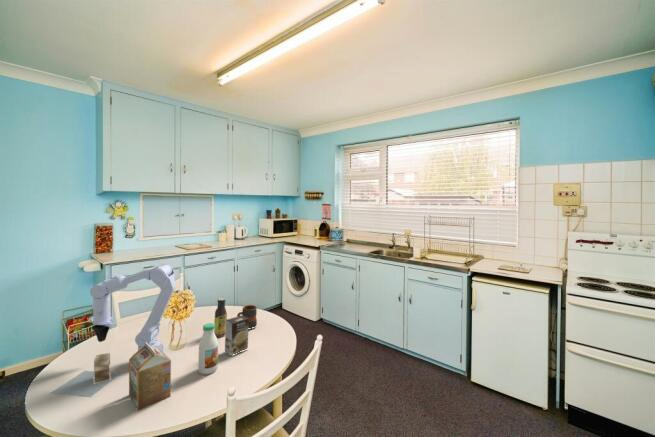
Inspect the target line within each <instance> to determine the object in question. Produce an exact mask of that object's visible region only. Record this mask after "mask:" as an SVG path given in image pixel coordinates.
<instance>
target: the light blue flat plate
mask: <svg viewBox="0 0 655 437" xmlns="http://www.w3.org/2000/svg"><path fill="white" fill-rule="evenodd" d="M120 375H121V373H115V372H109V379H108V380H104V381H101V382H97V383H95V372H94V370H84V371H82V372H80V373H79V374H77V375H76V376H75V377H73V378H71V379H70V380H68V381H67V382H65V383H63V384H62V385H60V386H59V387H57V388H55V389H54V390H52V391H51V392H50V394H54V395H64V396H72V397H73V396H76V397H86V398H91V397H93V396H94V395H96V394H97V393H98V392H100V391H101V390H102V389H104V388H105V387H106V386H107V385H109V384H110V383H111V382H113V381H114V380H115V379H116V378H118V377H119V376H120Z"/></svg>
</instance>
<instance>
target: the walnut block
mask: <svg viewBox="0 0 655 437" xmlns="http://www.w3.org/2000/svg"><path fill="white" fill-rule="evenodd" d="M109 373H110V368H109V369H106V370H101V371H96V372H95V383H97V382H101V381H104V380H108V379H109Z"/></svg>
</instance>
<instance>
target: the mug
mask: <svg viewBox="0 0 655 437" xmlns="http://www.w3.org/2000/svg"><path fill="white" fill-rule="evenodd" d="M257 309H258V308H257V306H256V305H254V304H253V305H252V304H248V305H244V306H243V307H242V311H240V312H238V313H237V315H236V317H238V316H241V315H242V316H245V317H247V318H249V328H252V327H255V326H256V325H258V324H257V322H258V320H257V315H258V314H257V312H258V310H257ZM256 327H257V326H256ZM256 327H255V328H256Z"/></svg>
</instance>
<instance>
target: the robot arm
mask: <svg viewBox="0 0 655 437" xmlns="http://www.w3.org/2000/svg"><path fill="white" fill-rule="evenodd" d="M175 272H176V271H175V270H174V268H173V267H172V265H170V264H169V263H162V264H161V265H155V266H152V267H148V268H146V269H145V268H144V269H142V270H141V271H138V272H135V273H133V274H130V275H127V276H124V275H119V274H118V275H115V276H113V278H110V279H104V280H103V281H102V282H100V283H96V284H95V285H93V286H92V287H91V288H90V289H89V294H90V296H91V297H92V299H93V300H92V301H93V302H92V308H93V309H92V311H93V316H91V317H89V318H88V322H89V323H92V324H93V325H92V326H91V329H92V330H93V331H94V334H95V335H96V338H97V342H99V343H102V342H104V341H106V339H107V336H108V333H109V331H110V329H113V328H115V327H116V322H114V320H113V317H112V316H111V294H113V293H115V292H118V291H120V290H121V291H122V290H123V289H124V290H125V289H126V288H128V286H129V284H131V283H135V282H137V281H141V280H143V279H145V280H147V281H150V280H151V281H152V282H153V283H154V284H155V285H156V286H157V287H159V290H160V292H159V294H158V296H157V299H155V302H154V304H153V307H152V309H151V312H150V314H149V316H148V318H147V320H146V322H145V324H144V325H143V327H142V328H141V329H140V332H139V333H138V334H137V335H136V336H135V339H134V342H135V344H136V345H137V351H139V350H140V349H141V348H142V347H144V346H145V342H147V344H148V345H149V346H153V347H156V348H158V349H160V350H161V351H162V352H163V353H164V344H163V343H162V342H159V341H158V339H157V336H158V335H159V333H160V326H161V323H160V322H161V320H162V318H163V316H164V314H165V312H166V309H167V307H168V305H169V303H170V301H171V298H172V295H173V293H174V291H175V289H176V279H175Z"/></svg>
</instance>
